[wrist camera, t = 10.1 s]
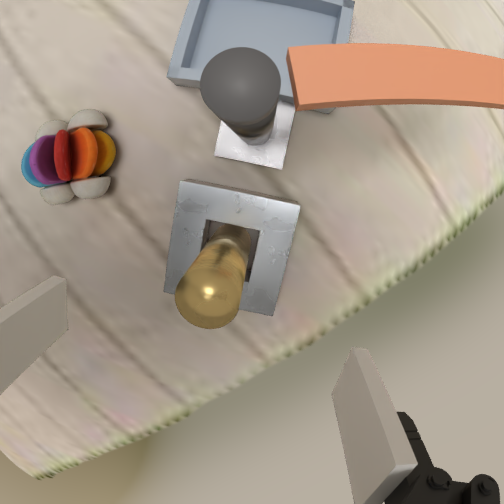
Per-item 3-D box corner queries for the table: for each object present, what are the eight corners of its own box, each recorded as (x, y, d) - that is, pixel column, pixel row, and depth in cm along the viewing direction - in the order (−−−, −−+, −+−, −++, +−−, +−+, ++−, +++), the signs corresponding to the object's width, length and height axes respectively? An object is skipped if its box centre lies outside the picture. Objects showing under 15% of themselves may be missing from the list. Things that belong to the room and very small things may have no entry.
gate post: (215, 155, 28) (159, 147, 13) (229, 92, 26) (190, 22, 11) (281, 169, 28) (299, 174, 13) (295, 105, 26) (326, 45, 11)
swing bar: (518, 119, 12) (550, 117, 10) (217, 134, 14) (206, 127, 11) (509, 71, 12) (538, 63, 9) (208, 74, 13) (194, 55, 10)
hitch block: (172, 280, 31) (163, 291, 28) (188, 178, 28) (180, 180, 26) (272, 302, 31) (272, 316, 28) (297, 201, 29) (300, 205, 26)
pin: (209, 256, 30) (171, 320, 18) (216, 219, 29) (179, 261, 17) (246, 264, 30) (233, 335, 18) (254, 228, 29) (246, 276, 17)
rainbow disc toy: (126, 192, 29) (89, 201, 22) (51, 204, 30) (8, 216, 23) (119, 107, 27) (81, 95, 20) (45, 129, 27) (1, 126, 20)
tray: (176, 85, 26) (166, 77, 23) (204, -10, 23) (198, -26, 20) (328, 113, 26) (335, 108, 23) (346, 15, 23) (354, 1, 20)
